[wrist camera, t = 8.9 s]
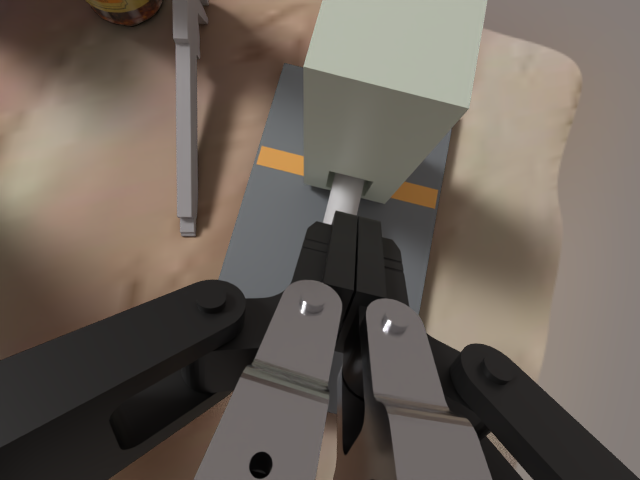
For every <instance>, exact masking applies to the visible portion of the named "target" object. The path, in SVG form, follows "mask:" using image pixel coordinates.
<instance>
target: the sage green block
mask: <svg viewBox="0 0 640 480" xmlns="http://www.w3.org/2000/svg"><path fill="white" fill-rule="evenodd" d="M486 5H487V0H323V1H322V4H321V8H320V11H319V14H318V18H317V21H316V25H315V28H314V32H313V35H312V39H311V42H310V46H309V49H308V52H307V56H306V59H305V63H304V66H303V96H304V184H307V185H311V186H315V187H319V188H323V189H327V190H331V188H332V184H333V180H334V176H335V172H336V173H340V174H344V175H348V176H352V177H356V178H360V179H364V180H365V181H364V185H363V190H362V194H361V198H363V199H367V200H371V201H375V202H379V203H383V204H385V203H386V202H387V201H388V200H389V199H390V198H391V196H392V195H393V194H394V193H395V192H396V191H397V190H398V188H399V187H400V186H401V185H402V184H403V183H404V182H405V181H406V179H407V178H408V177H409V176H410V175H411V174H412V173H413V171H414V170H415V169H416V168H417V167H418V166H419V165H420V164H421V162H422V161H423V160H424V159H425V158H426V157H427V156H428V154H429V153H430V152H431V151H432V150H433V149H434V148H435V147H436V145H437V144H438V143H439V142H440V141H441V140H442V139H443V137H444V136H445V135H446V134H447V133H448V132H449V131H450V130H451V128H452V127H453V126H454V125H455V124H456V123H457V122H458V120H459V119H460V118H461V117H462V116H463V115H464V114H465V113H466V111H467V110H468V109H469V106H470V100H471V94H472V88H473V82H474V76H475V70H476V64H477V58H478V52H479V47H480V41H481V35H482V29H483V23H484V16H485V11H486Z"/></svg>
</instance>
